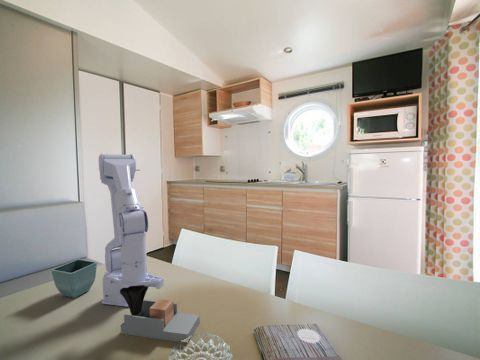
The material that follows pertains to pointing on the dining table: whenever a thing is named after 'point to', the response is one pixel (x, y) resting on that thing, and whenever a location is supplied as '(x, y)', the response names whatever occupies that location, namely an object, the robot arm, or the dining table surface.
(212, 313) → the dining table surface
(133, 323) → the slate trough
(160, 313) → the terracotta block
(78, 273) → the flower pot
